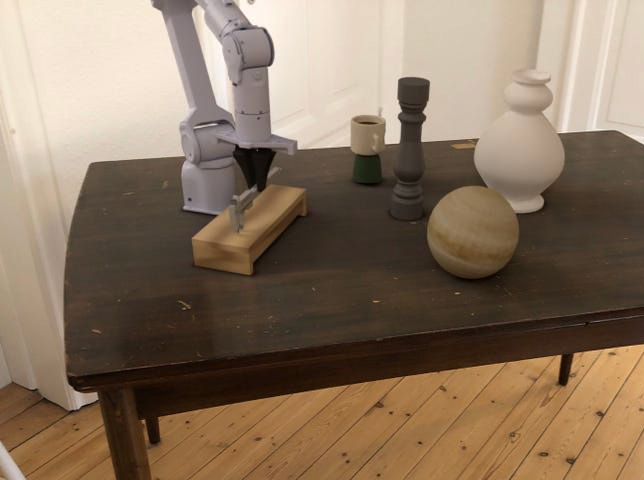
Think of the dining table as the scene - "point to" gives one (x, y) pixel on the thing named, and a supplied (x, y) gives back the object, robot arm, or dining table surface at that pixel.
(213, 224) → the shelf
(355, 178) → the character mug
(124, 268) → the dining table surface
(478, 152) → the decorative vase
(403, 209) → the candle holder
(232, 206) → the caliper
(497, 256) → the decorative ball
